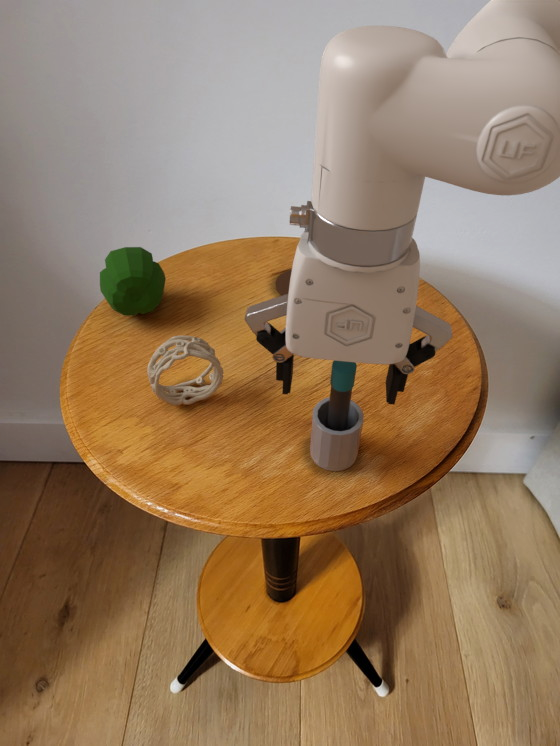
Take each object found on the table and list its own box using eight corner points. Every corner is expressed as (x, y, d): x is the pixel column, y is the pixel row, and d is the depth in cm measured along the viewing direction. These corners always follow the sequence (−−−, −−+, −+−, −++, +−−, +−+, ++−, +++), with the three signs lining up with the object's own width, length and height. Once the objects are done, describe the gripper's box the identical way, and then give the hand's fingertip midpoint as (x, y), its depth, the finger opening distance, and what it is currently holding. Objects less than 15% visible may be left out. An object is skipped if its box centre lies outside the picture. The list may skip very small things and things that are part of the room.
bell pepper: (179, 280, 71) (169, 249, 79) (115, 258, 67) (111, 227, 75) (155, 334, 74) (148, 299, 82) (92, 316, 70) (91, 281, 78)
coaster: (325, 273, 83) (325, 270, 83) (322, 302, 78) (323, 299, 78) (278, 270, 84) (278, 267, 83) (272, 298, 79) (272, 296, 78)
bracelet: (150, 394, 66) (139, 343, 60) (216, 376, 68) (211, 325, 62) (159, 418, 63) (148, 367, 57) (226, 399, 65) (222, 348, 60)
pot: (357, 435, 62) (363, 398, 57) (356, 473, 58) (363, 437, 54) (311, 431, 62) (314, 394, 58) (308, 469, 58) (311, 432, 54)
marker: (344, 441, 60) (356, 357, 52) (344, 458, 59) (356, 374, 50) (324, 439, 60) (332, 355, 52) (322, 456, 59) (331, 372, 50)
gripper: (234, 245, 39) (241, 409, 51) (489, 266, 38) (434, 428, 50) (250, 193, 44) (253, 353, 56) (474, 210, 43) (428, 369, 55)
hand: (338, 388), depth 53 cm, fingers open, 9 cm apart
